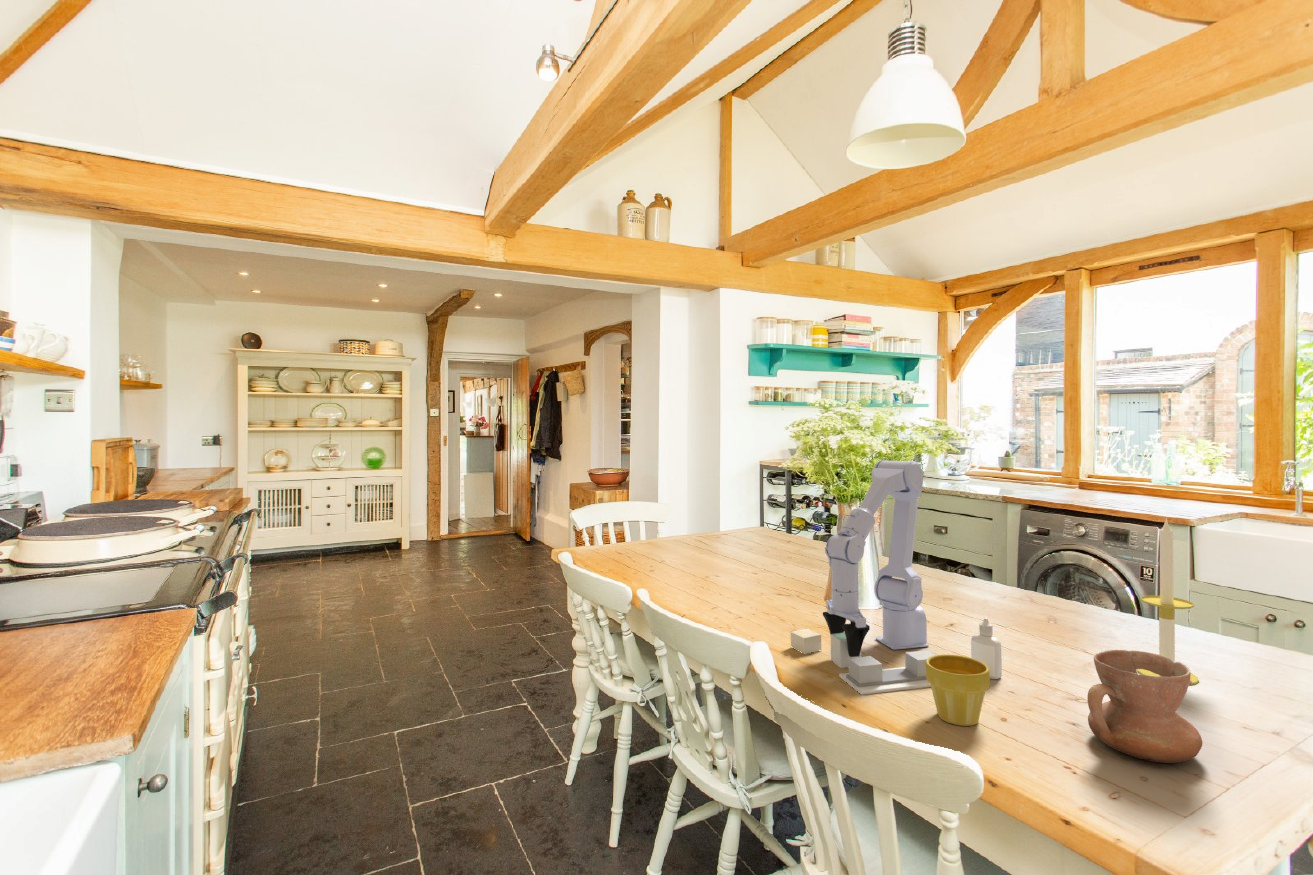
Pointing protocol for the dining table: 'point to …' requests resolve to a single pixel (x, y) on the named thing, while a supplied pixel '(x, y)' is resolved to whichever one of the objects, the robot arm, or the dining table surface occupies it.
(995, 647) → the eye dropper bottle
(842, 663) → the block
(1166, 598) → the candle
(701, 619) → the dining table surface
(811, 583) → the dining table surface
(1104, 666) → the ceramic jug
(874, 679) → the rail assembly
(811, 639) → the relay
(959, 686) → the plant pot
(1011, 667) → the dining table surface
